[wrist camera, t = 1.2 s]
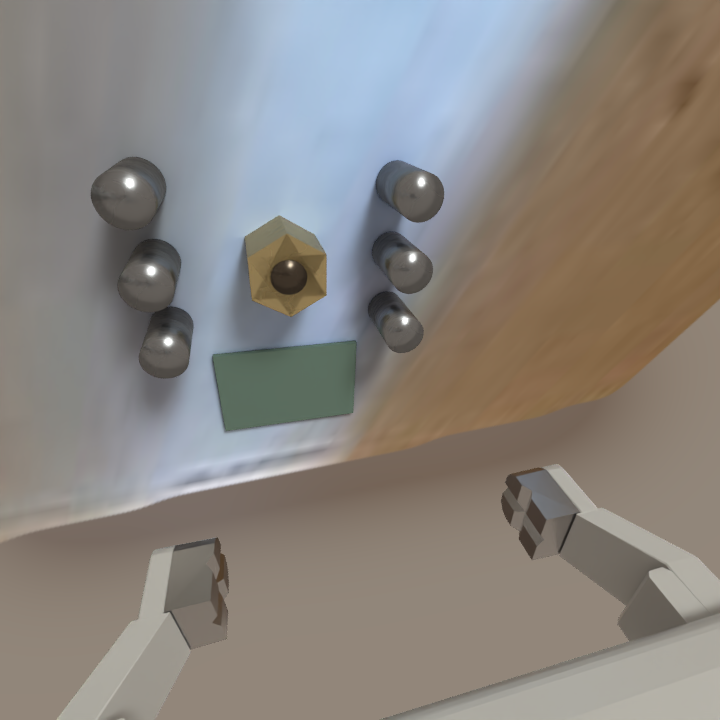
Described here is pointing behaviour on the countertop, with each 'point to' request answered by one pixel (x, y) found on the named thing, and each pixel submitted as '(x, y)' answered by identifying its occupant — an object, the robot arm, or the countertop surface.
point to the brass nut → (285, 266)
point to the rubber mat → (285, 384)
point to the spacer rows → (162, 262)
